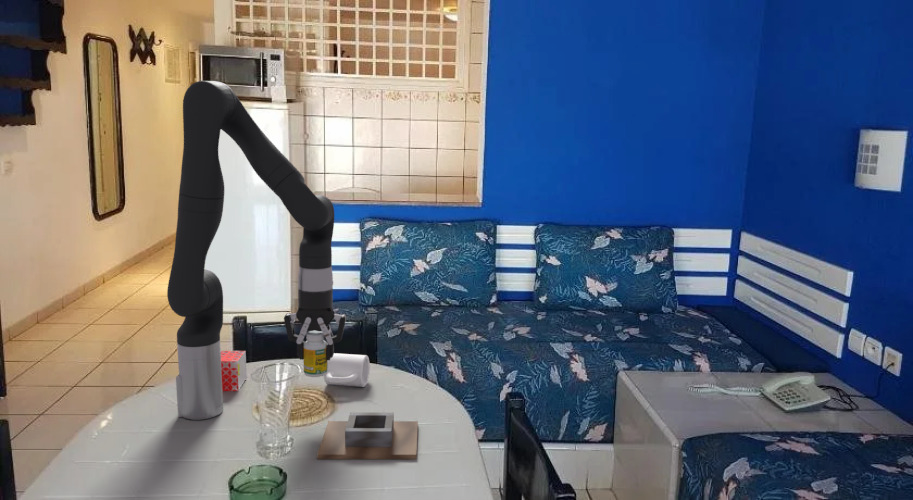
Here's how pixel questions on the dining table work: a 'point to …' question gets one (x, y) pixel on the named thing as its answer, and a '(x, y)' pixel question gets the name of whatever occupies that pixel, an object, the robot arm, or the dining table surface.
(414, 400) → the dining table surface
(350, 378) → the mug
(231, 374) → the red patterned cube
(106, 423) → the dining table surface
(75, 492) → the dining table surface
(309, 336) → the supplement bottle
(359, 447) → the dock socket
